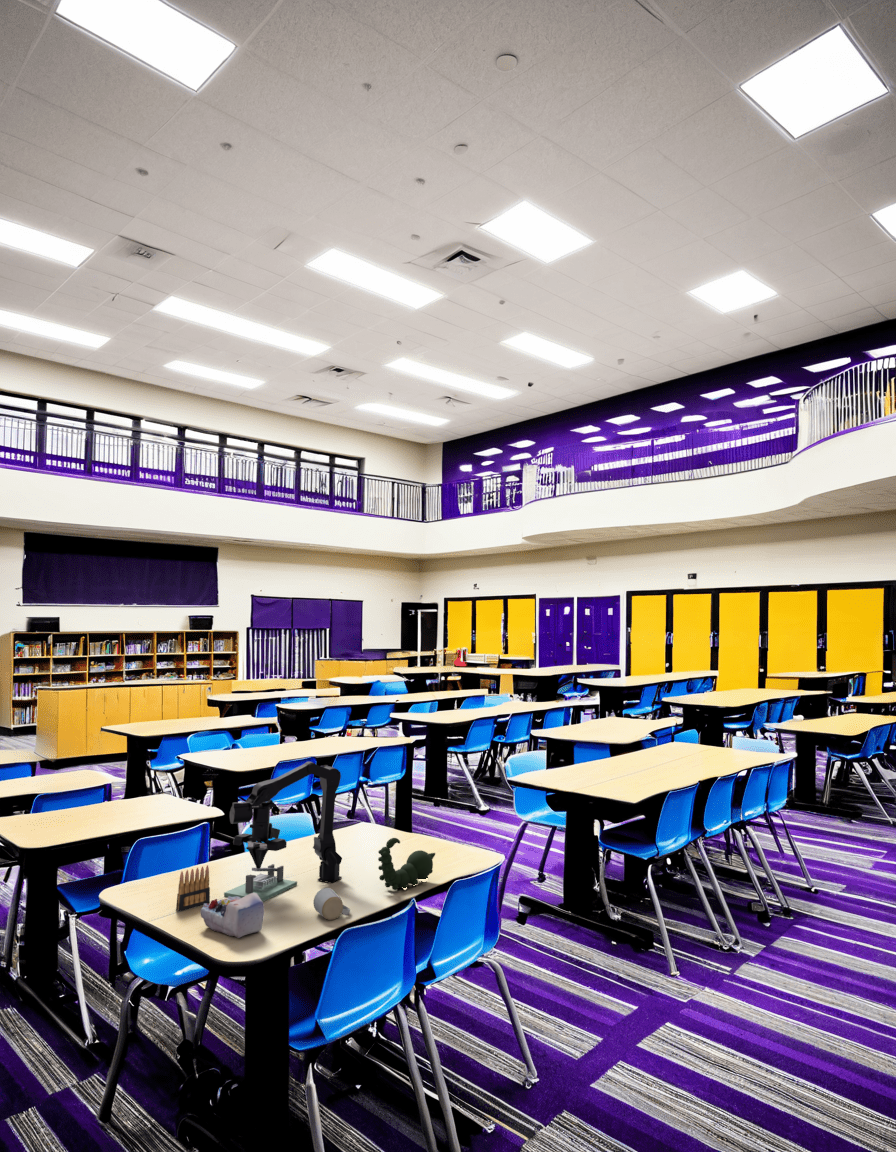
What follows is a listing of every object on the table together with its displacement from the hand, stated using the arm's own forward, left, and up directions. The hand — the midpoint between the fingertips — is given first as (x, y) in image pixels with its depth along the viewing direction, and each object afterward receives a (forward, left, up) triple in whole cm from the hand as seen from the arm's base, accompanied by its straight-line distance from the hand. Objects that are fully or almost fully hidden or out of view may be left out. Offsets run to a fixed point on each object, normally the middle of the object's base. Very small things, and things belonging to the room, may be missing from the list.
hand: (258, 868), depth 244 cm
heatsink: (0, -2, -7) cm, 7 cm away
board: (0, -2, -8) cm, 8 cm away
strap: (0, -4, -2) cm, 4 cm away
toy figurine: (-44, -28, -8) cm, 52 cm away
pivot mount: (0, -9, -7) cm, 12 cm away
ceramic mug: (-35, +7, -8) cm, 37 cm away
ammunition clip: (+9, +20, -8) cm, 24 cm away
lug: (0, +4, -7) cm, 8 cm away
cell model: (-15, +29, -8) cm, 33 cm away
